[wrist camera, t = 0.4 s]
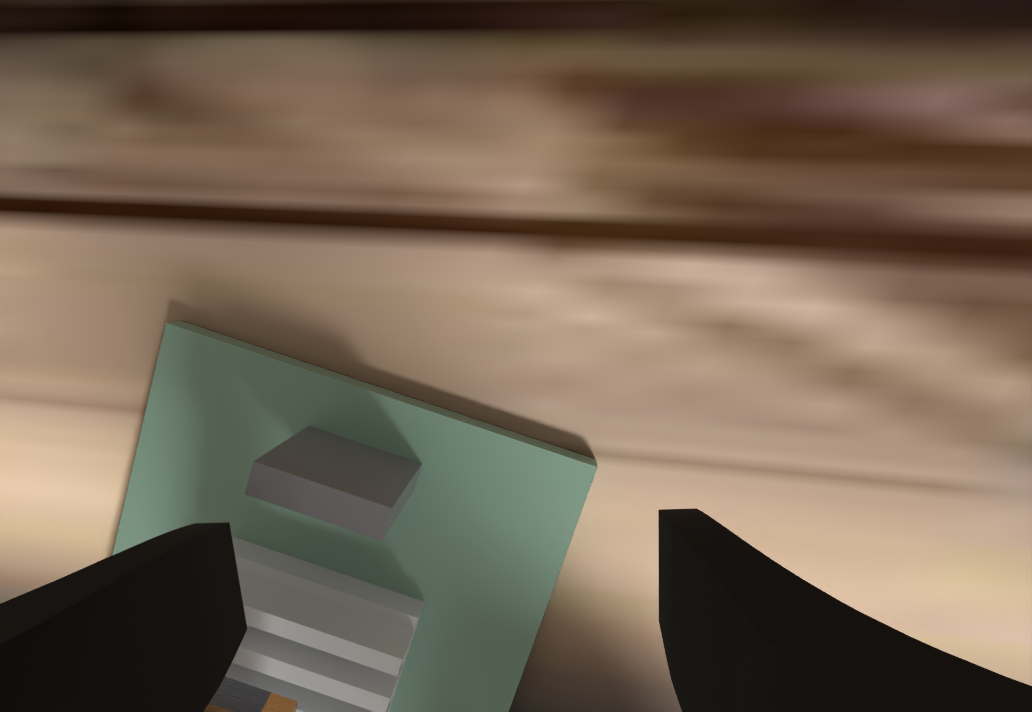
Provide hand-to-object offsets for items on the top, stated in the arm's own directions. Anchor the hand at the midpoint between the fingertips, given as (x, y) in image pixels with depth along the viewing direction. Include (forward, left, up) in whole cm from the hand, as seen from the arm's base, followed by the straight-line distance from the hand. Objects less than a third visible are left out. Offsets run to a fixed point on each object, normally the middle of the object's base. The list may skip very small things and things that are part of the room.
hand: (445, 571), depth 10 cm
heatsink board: (-10, +4, -11) cm, 16 cm away
